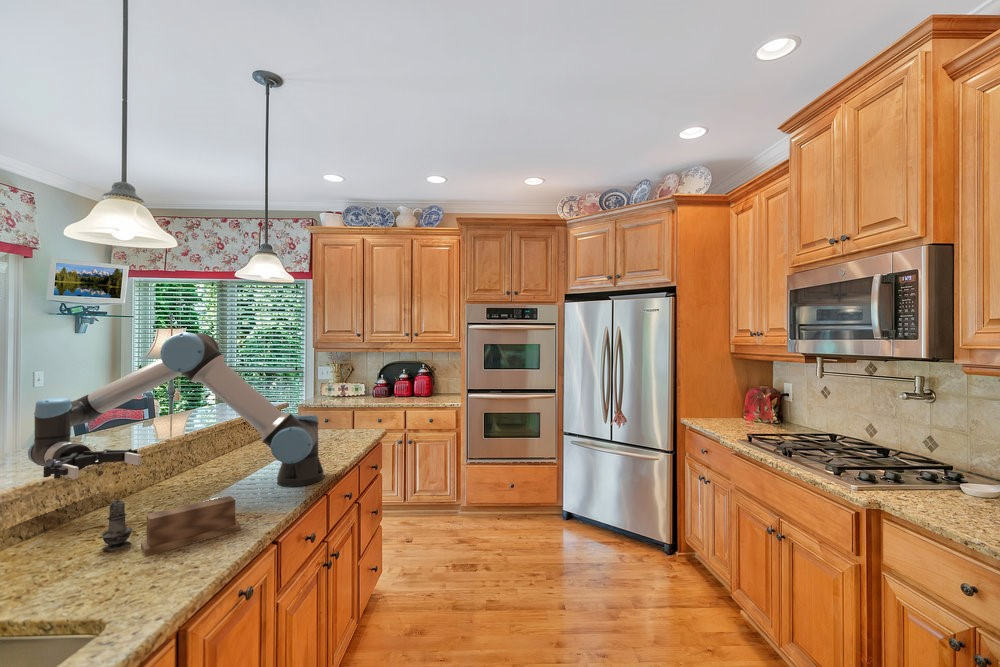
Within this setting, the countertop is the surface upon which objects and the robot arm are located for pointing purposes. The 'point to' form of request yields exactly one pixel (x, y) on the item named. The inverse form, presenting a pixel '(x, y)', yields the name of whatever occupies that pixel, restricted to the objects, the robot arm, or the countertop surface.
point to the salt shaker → (116, 528)
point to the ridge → (189, 524)
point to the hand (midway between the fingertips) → (109, 466)
